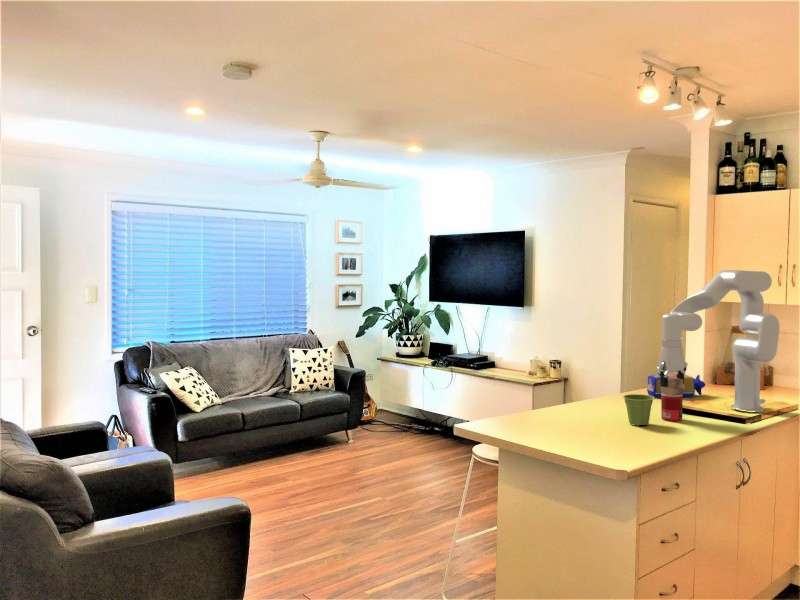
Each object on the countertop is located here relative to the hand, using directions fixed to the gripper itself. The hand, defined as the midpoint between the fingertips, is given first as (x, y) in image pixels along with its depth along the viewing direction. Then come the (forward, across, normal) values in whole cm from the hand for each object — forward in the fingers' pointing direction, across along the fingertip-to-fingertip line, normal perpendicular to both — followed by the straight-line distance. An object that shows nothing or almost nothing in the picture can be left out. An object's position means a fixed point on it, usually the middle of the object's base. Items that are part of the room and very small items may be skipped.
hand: (672, 385), depth 259 cm
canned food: (+14, 0, 0) cm, 15 cm away
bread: (+15, -37, -29) cm, 49 cm away
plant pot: (+14, +17, -2) cm, 23 cm away
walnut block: (+3, 0, 0) cm, 3 cm away
